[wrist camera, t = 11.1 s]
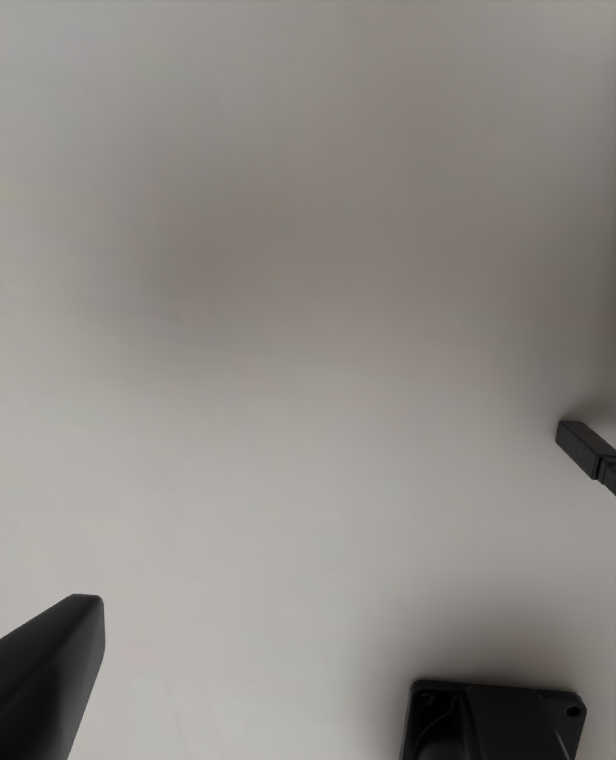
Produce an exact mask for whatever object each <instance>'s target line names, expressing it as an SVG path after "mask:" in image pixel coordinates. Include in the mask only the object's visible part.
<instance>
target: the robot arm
mask: <svg viewBox="0 0 616 760" xmlns="http://www.w3.org/2000/svg"><path fill="white" fill-rule="evenodd" d="M104 651H105V623H104V604H103V600H102V598H101V597H99V596H98V595H87V594H72V595H70V596H68V597H66V598H65V599H63V600H61V601H60V602H58V603H57V604H55V605H53V606H52V607H50V608H49V609H47V610H45V611H44V612H42V613H41V614H39V615H37V616H36V617H34V618H33V619H31V620H29V621H28V622H26V623H25V624H23V625H22V626H20V627H18V628H17V629H15V630H14V631H12V632H10V633H9V634H7V635H6V636H4V637H2V638H1V639H0V760H67V759H68V756H69V753H70V751H71V748H72V745H73V742H74V739H75V737H76V734H77V731H78V728H79V725H80V722H81V720H82V717H83V714H84V711H85V708H86V705H87V703H88V700H89V697H90V694H91V691H92V689H93V686H94V683H95V680H96V677H97V674H98V672H99V669H100V666H101V663H102V660H103V656H104ZM425 693H426V694H427V695H425V696H421V694H425ZM571 706H573V707H572V708H569V707H571ZM586 713H587V708H586V706H585V704H584V703H583V701H582V699H581V697H580V696H579V695H578V694H576V693H573V692H563V691H551V690H540V689H528V688H516V687H504V686H493V685H481V684H469V683H457V682H446V681H434V680H419V681H416V682H415V683H413V684H412V686H411V688H410V693H409V699H408V706H407V713H406V720H405V726H404V733H403V740H402V746H401V753H400V760H574V759H575V755H576V751H577V748H578V744H579V740H580V736H581V732H582V729H583V725H584V721H585V717H586Z"/></svg>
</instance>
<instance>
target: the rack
mask: <svg viewBox="0 0 616 760" xmlns="http://www.w3.org/2000/svg"><path fill="white" fill-rule="evenodd" d="M555 442H556V443H557V444H558V445H559V446H560V447H561V449H562V450H563V451H564V452H565V453H566V454H567V455H568V456H569V457H570V458H571V459H572V460H573V461H574V462H575V463H576V464H577V465H578V466H579V467H580V468H581V469H582V470H583V471H584V472H585V473H586V474H587V475H588V476H589V477H590V478H591V479H593V480H598V481H599V482H600V483H601V484H603V485H605V486H606V487H607V488H608V489H609V490H610V491H611V492H612V493H613V494H614V495H615V496H616V449H614V448H613V447H612V446H611V445H610V444H608V443H607V442H606V441H605V440H604V439H602V438H601V437H600V436H599V435H598V434H596V433H595V432H594V431H593V430H591V429H590V428H589V427H588V426H587V425H585V424H584V423H583V422H573V421H560V422H559V426H558V431H557V435H556V440H555Z"/></svg>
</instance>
